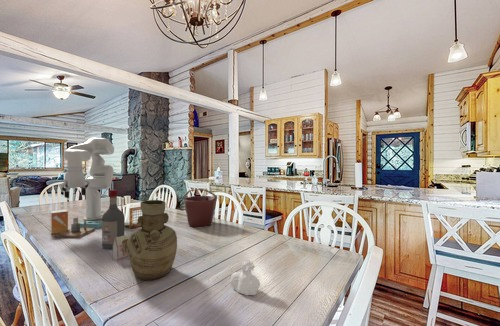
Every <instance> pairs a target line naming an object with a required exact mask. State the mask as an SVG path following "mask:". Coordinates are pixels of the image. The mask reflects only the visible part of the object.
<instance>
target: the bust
mask: <svg viewBox="0 0 500 326" xmlns="http://www.w3.org/2000/svg"><path fill="white" fill-rule="evenodd" d="M239 263H240V266H241V267H240V269H241V271H236V272H233V273H231V277H230V286H231V288H232V289H234V290H235V292H237V293H240V294H242V295H244V296H255V295H257V294H258V291H259V288H260V286H261V283H260V280H259V278H258V277H257V276H256V275H254V274H252V271H254V269H255V267H256V266H255V265H254V262H253V261H252V260H250V259H249V260H245V261H240V262H239Z"/></svg>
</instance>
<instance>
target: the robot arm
mask: <svg viewBox="0 0 500 326" xmlns="http://www.w3.org/2000/svg"><path fill="white" fill-rule="evenodd" d="M114 152H115V146H114V145H113V143H112V142H111V141H110V140H109V139H108V138H105V137H91V138H89V139H87V140H86V141H85V142H84V143H80V144H77V145H72V146H70V147H69V148H67V149H66V150H65V151H64V154H63V157H64V158H63V159H65V160H66V161H67V172H65V175H64V181H63V182H62V183H60V184H58V186H59V188H60V189H61V190H62V191H63V192H64V193H63V194H64V195H63V196H64V198H66V199H69V198H70V191H69V190H70V189H73V188H74V189H76V188H81V189H80V193H81V194H80V195H81V196H85V216H84V217H83V219H82V220H83V221H96V220H100V219H101V220H102V216H103V215H102V214H104V213H105V211H104V210H102V207H101V205H102V202H101V201H102V200H101V199H102V195H101V193H100V191H99V190H109V189H111V186H112V182H113V178H114V167H113V165H110V164H105V163H106V160H105V159H104V157H102V155H107V156H110V155H113V154H114ZM91 159H92V161H91V165H90V168H89V177H87V178H86V177H85V173H84V171H83V170H85V167H83V162H89V161H90V160H91Z"/></svg>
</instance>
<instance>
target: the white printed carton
mask: <svg viewBox="0 0 500 326" xmlns="http://www.w3.org/2000/svg"><path fill="white" fill-rule="evenodd" d="M130 236H131V234H124V236H121V237H117V238H115V240H114V244H113V249H112V259H114V260H115V261H118V260H123V259H125V258H128V256H127V252H125V253H123V252H122V246H123V245H122V241H123V240H126V239H129V237H130Z"/></svg>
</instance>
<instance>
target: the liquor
mask: <svg viewBox="0 0 500 326" xmlns="http://www.w3.org/2000/svg"><path fill="white" fill-rule="evenodd" d="M108 190H109V189H108ZM108 193H109V195H108V196H109V206H108V209H107V210H106V211H104V213H102V214H103V216H102V218H101V221H102V227H101V244H102V245H101V247H102V249H104V250H113V244H114V240H115V238H117V237H121V236H124V235H125V214H124V212H123V211H122V210H121V209H120V208H119V207H118V189H110V190H109V191H108Z"/></svg>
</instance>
